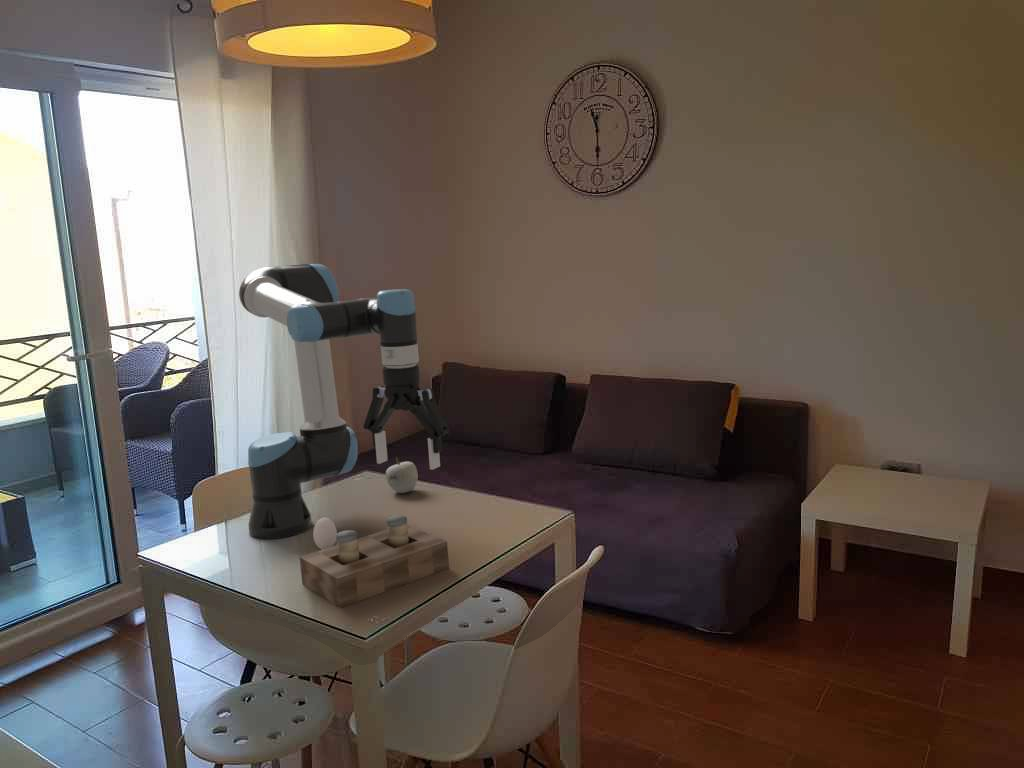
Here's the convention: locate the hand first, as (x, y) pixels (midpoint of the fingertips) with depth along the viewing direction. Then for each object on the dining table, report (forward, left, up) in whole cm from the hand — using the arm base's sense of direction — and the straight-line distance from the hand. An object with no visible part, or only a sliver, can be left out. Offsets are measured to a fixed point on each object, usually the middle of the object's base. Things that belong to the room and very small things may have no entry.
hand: (408, 465), depth 172 cm
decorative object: (-47, +27, -23) cm, 59 cm away
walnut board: (-2, -9, -23) cm, 24 cm away
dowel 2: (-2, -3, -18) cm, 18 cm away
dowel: (-2, -15, -18) cm, 23 cm away
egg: (-24, -9, -23) cm, 34 cm away
